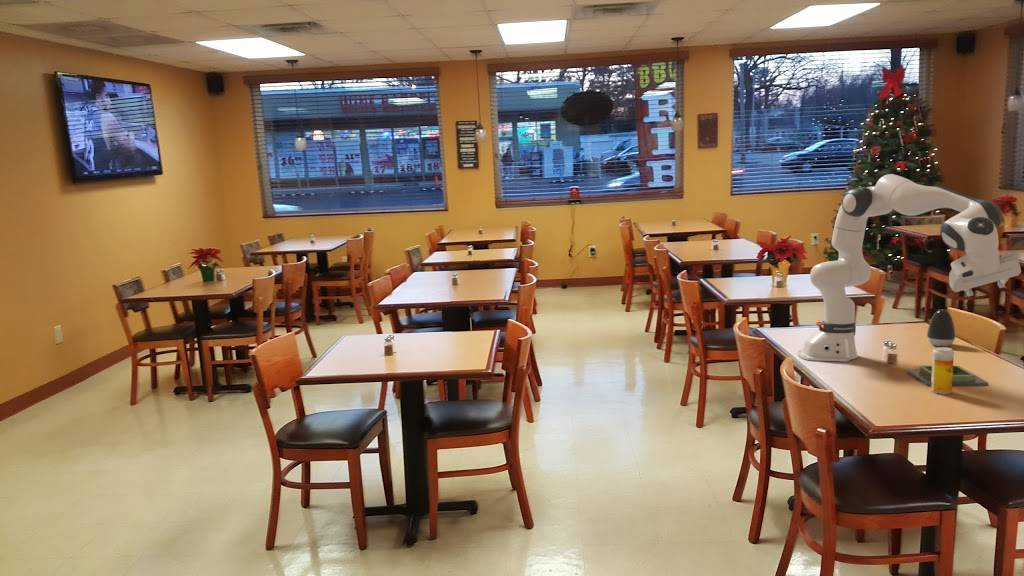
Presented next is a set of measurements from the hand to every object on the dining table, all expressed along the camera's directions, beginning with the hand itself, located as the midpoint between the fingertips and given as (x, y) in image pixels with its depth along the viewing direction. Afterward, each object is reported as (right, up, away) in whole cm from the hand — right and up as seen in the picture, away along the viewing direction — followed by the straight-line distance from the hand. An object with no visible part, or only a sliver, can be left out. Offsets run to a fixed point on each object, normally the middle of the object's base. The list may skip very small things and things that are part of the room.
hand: (985, 290), depth 243 cm
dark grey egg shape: (+22, -23, +62) cm, 70 cm away
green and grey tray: (-2, -31, +18) cm, 36 cm away
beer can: (-12, -34, +4) cm, 37 cm away
